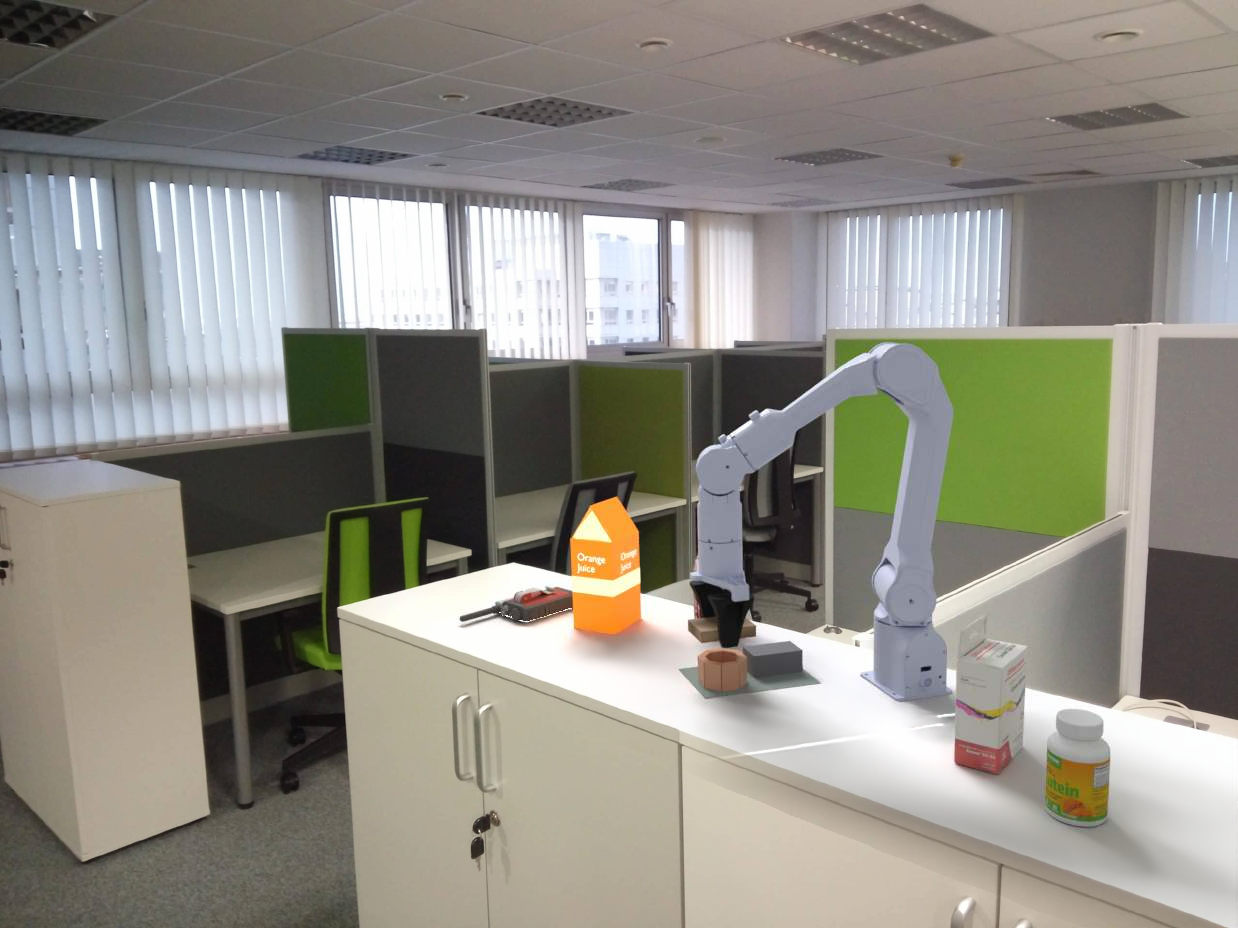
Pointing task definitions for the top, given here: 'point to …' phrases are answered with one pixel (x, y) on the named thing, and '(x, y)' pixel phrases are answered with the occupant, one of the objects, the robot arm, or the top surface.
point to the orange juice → (606, 569)
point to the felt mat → (752, 683)
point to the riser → (773, 659)
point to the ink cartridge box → (988, 699)
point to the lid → (715, 629)
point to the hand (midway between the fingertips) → (721, 639)
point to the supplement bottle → (1078, 769)
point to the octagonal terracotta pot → (722, 669)
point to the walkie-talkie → (529, 604)
